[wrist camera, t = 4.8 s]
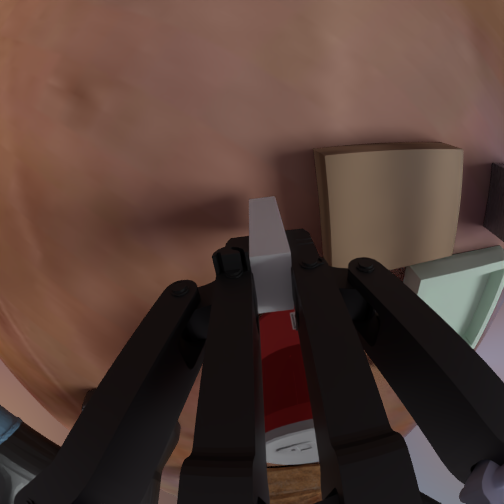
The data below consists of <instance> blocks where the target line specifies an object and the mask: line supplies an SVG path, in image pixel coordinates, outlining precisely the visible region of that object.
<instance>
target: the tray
mask: <svg viewBox="0 0 504 504" xmlns="http://www.w3.org/2000/svg"><path fill="white" fill-rule="evenodd" d="M403 283H404V284H405V285H406V286H408V287H409V288H410V289H411V290H412V291H413V292H414V293H415V294H417V295H418V296H419V297H420V298H421V299H422V300H423V301H424V302H425V303H426V304H428V305H429V306H430V307H431V308H432V309H433V310H434V311H435V312H436V313H437V314H438V315H439V316H440V317H441V318H442V319H443V320H445V321H446V322H447V323H448V324H449V325H450V326H451V327H452V328H453V329H454V330H455V331H456V332H457V333H458V334H459V335H460V336H461V337H462V338H463V339H464V340H465V341H466V342H467V343H468V344H469V345H470V346H471V347H472V349H474V348H475V346H476V344H477V342H478V340H479V338H480V337H481V335H482V333H483V331H484V329H485V327H486V325H487V323H488V321H489V319H490V317H491V315H492V312H493V310H494V308H495V306H496V303H497V301H498V299H499V296H500V294H501V292H502V289H503V286H504V249H503V248H502V247H501V246H500V245H499V246H494V247H489V248H484V249H479V250H474V251H469V252H464V253H459V254H454V255H452V256H448V257H444V258H440V259H436V260H432V261H427V262H423V263H419V264H414V265H410V266H406V270H405V275H404V280H403Z"/></svg>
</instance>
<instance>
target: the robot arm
mask: <svg viewBox="0 0 504 504" xmlns="http://www.w3.org/2000/svg"><path fill="white" fill-rule="evenodd" d="M212 259H213V263H214V267H215V271H216V280H215V281H213V282H212V283H209V284H207V285H204V286H201V287H197V285H196V283H195V282H193V281H191V280H180V281H177V282H174V283H172V284H171V285H169V286H168V287H167V288H166V289H165V290H164V291H163V293H162V294H161V296H160V297H159V298H158V300H157V301H156V302H155V304H154V305H153V307H152V308H151V309H150V311H149V312H148V314H147V315H146V316H145V318H144V319H143V321H142V322H141V323H140V325H139V326H138V328H137V329H136V330H135V332H134V333H133V335H132V336H131V338H130V339H129V341H128V342H127V343H126V345H125V346H124V348H123V349H122V351H121V352H120V354H119V355H118V357H117V358H116V360H115V361H114V363H113V364H112V366H111V367H110V369H109V370H108V372H107V373H106V375H105V376H104V378H103V379H102V381H101V382H100V384H99V386H98V387H97V389H96V390H91V391H89V392H88V393H87V394H86V396H85V399H84V402H83V404H82V413H81V414H80V416H79V418H78V419H77V421H76V423H75V424H74V426H73V428H72V429H71V431H70V433H69V435H68V436H67V438H66V439H65V441H64V443H63V445H62V446H61V447H60V446H59V445H57V444H55V443H54V442H52V441H51V440H49V439H47V438H46V437H44V436H43V435H41V434H40V433H38V432H37V431H35V430H34V429H33V428H31V427H30V426H28V425H27V424H26V423H24V422H23V421H22V420H21V419H20V418H19V417H16V416H14V415H13V414H12V413H10V412H9V411H8V410H6V409H5V408H4V407H2V406H1V405H0V504H158V499H159V491H160V482H161V475H162V470H163V468H164V466H165V464H166V463H167V461H168V459H169V457H170V456H171V454H172V452H173V450H174V449H175V447H176V445H177V443H178V441H179V436H180V429H181V427H180V424H179V422H178V421H177V420H178V418H179V416H180V413H181V411H182V409H183V407H184V404H185V402H186V400H187V397H188V395H189V393H190V391H191V388H192V386H193V384H194V382H195V379H196V377H197V375H198V373H199V370H200V368H201V366H202V363H203V367H202V375H201V382H200V390H199V398H198V406H197V414H196V423H195V432H194V441H193V449H192V453H191V455H190V456H189V457H187V458H186V459H185V460H184V462H183V464H182V467H181V472H180V480H179V490H178V500H177V504H270V497H269V487H268V480H267V463H266V442H265V421H264V400H263V380H262V360H261V341H260V322H259V316H258V313H267V312H275V311H284V310H291V309H294V306H295V323H296V331H297V330H298V335H299V340H300V346H301V351H302V357H303V362H304V368H305V374H306V380H307V386H308V392H309V398H310V404H311V410H312V416H313V423H314V429H315V436H316V443H317V449H318V456H319V464H320V473H321V480H320V482H321V494H322V501H319V502H316V503H314V504H441V503H439V502H438V501H436V500H434V499H432V498H430V497H429V496H427V495H425V494H424V493H421V492H420V491H419V488H418V484H417V480H416V476H415V473H414V469H413V465H412V461H411V458H410V454H409V451H408V448H407V445H406V442H405V440H404V438H403V437H402V435H401V434H400V433H398V432H395V431H393V430H392V428H391V427H390V424H389V421H388V418H387V415H386V412H385V409H384V406H383V403H382V400H381V397H380V394H379V391H378V388H377V385H376V382H375V379H374V376H373V374H372V371H371V368H370V365H369V363H368V360H367V357H366V355H365V352H366V353H367V354H368V356H369V357H370V358H371V360H372V361H373V362H374V364H375V365H376V367H377V368H378V369H379V371H380V372H381V374H382V375H383V376H384V378H385V379H386V380H387V382H388V383H389V385H390V386H391V387H392V389H393V390H394V392H395V393H396V395H397V396H398V397H399V399H400V400H401V402H402V403H403V404H404V406H405V407H406V409H407V410H408V412H409V413H410V415H411V416H412V417H413V419H414V420H415V422H416V423H417V425H418V426H419V427H420V429H421V431H422V432H423V434H424V435H425V436H426V438H427V440H428V441H429V443H430V444H431V446H432V447H433V449H434V450H435V452H436V453H437V455H438V456H439V457H440V459H441V461H442V462H443V463H444V465H445V466H446V467H447V469H448V470H449V471H450V472H451V473H452V474H453V475H454V476H455V477H456V478H457V479H458V480H459V481H461V482H462V483H464V484H465V485H464V488H463V489H462V490H461V492H460V495H459V499H460V501H461V502H463V503H466V504H504V383H503V381H502V380H501V379H500V378H499V377H498V376H497V375H496V373H495V372H494V371H493V370H492V369H491V368H490V367H489V366H488V365H487V363H486V362H485V361H484V360H483V359H482V358H481V357H480V356H479V355H478V354H477V353H476V352H475V351H474V350H473V349H472V347H471V346H470V345H469V344H468V343H467V342H466V341H465V340H464V339H463V338H462V337H461V336H460V335H459V334H458V333H457V332H456V331H455V330H454V329H453V328H452V327H451V326H450V325H449V324H448V323H447V322H446V321H445V320H443V319H442V318H441V317H440V316H439V315H438V314H437V313H436V312H435V311H434V310H433V309H432V308H431V307H430V306H429V305H428V304H426V303H425V302H424V301H423V300H422V299H421V298H420V297H419V296H418V295H417V294H415V293H414V292H413V291H412V290H411V289H410V288H409V287H408V286H406V285H405V284H404V283H403V282H402V281H401V280H400V279H398V278H397V277H396V276H395V275H394V274H393V273H391V272H390V271H389V270H388V269H387V268H386V267H384V266H383V265H382V264H381V263H380V262H378V261H376V260H375V259H371V258H368V257H360V258H355V259H353V260H351V261H350V262H349V264H348V268H337V267H332V266H329V265H328V263H327V261H326V260H325V259H324V258H322V257H320V256H319V254H318V252H317V250H316V247H315V245H314V243H313V241H312V239H311V236H310V234H309V232H307V231H306V230H304V229H295V230H287V231H285V230H284V226H283V223H282V219H281V216H280V212H279V209H278V205H277V202H276V199H275V196H272V197H264V198H256V199H249V236H245V237H237V238H231V239H230V240H229V241H228V242H227V243H226V246H225V247H223V248H221V249H218V250H217V251H216V252H214V254H213V255H212ZM364 350H365V352H364Z"/></svg>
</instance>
